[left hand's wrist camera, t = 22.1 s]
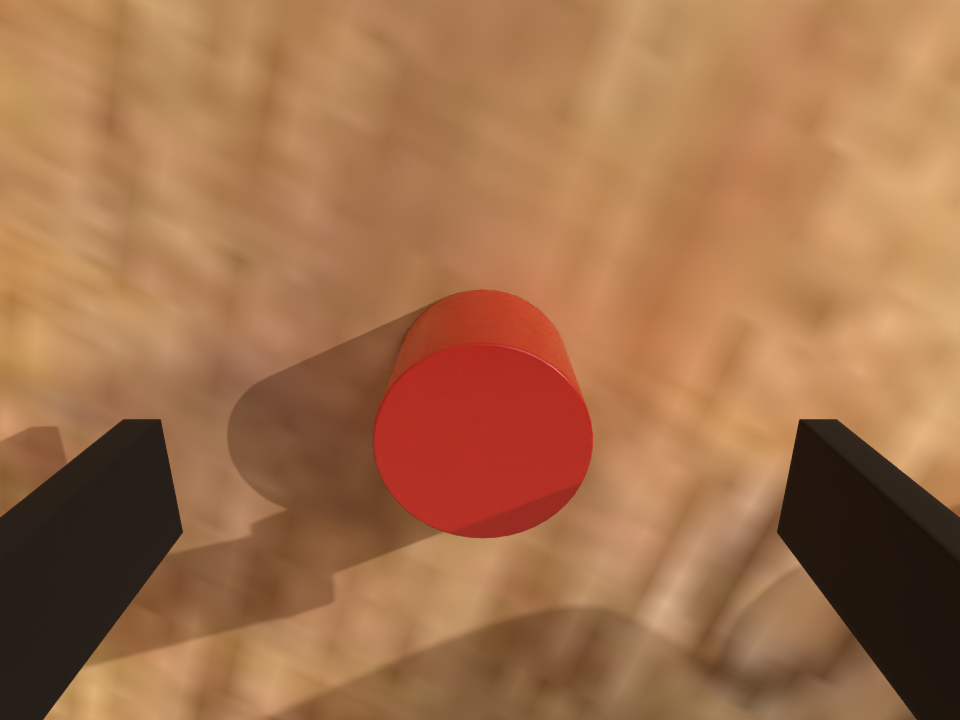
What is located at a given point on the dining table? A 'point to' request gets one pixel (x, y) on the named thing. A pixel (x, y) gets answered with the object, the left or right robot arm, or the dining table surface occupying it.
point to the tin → (482, 418)
